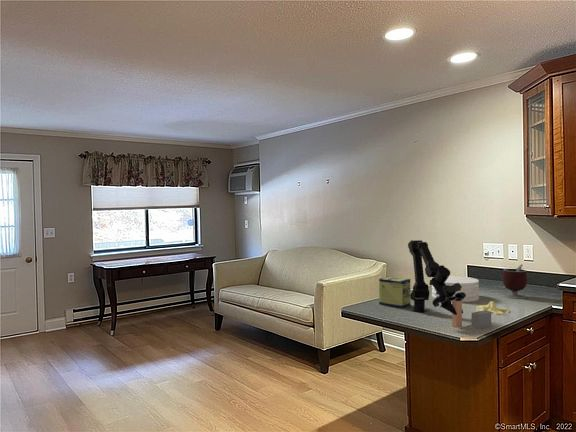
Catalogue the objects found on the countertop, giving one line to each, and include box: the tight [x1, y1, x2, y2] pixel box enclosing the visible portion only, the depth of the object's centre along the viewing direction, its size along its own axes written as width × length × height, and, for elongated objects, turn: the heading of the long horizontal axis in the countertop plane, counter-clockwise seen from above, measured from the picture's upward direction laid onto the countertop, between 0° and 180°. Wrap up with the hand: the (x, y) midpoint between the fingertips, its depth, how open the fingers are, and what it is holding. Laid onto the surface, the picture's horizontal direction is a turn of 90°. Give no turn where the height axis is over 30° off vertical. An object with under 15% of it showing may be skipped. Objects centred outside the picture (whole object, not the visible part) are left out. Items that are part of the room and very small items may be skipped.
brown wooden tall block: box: [451, 301, 463, 328], centre depth 212 cm, size 2×4×12 cm, turn 120°
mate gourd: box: [502, 264, 528, 300], centre depth 278 cm, size 16×14×20 cm
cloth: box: [475, 300, 510, 316], centre depth 242 cm, size 22×19×6 cm
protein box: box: [378, 276, 412, 309], centre depth 260 cm, size 10×16×16 cm
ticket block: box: [457, 310, 492, 330], centre depth 210 cm, size 6×17×7 cm, turn 120°
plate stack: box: [431, 275, 480, 303], centre depth 280 cm, size 28×28×12 cm
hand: (459, 313), depth 210 cm, fingers closed on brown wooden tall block, 4 cm apart
